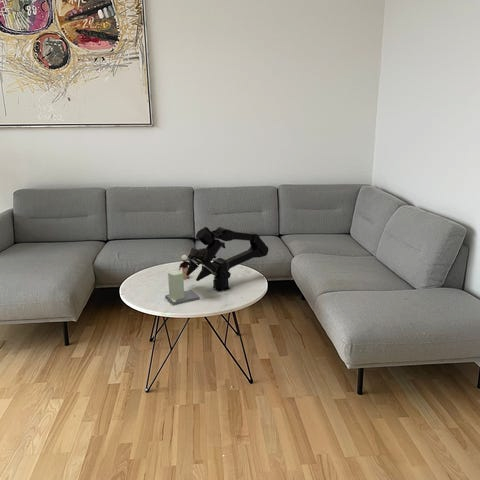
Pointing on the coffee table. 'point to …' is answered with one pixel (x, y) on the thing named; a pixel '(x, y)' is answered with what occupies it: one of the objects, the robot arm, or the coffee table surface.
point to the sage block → (176, 285)
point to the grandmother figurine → (184, 266)
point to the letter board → (188, 297)
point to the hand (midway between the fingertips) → (191, 278)
